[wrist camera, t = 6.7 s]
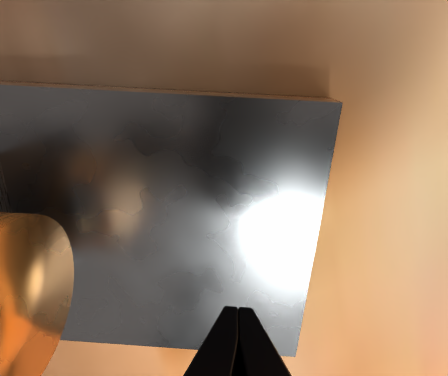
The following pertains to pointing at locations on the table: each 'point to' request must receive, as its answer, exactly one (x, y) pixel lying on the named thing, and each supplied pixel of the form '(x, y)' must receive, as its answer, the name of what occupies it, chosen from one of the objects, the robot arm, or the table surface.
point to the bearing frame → (172, 203)
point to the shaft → (32, 291)
